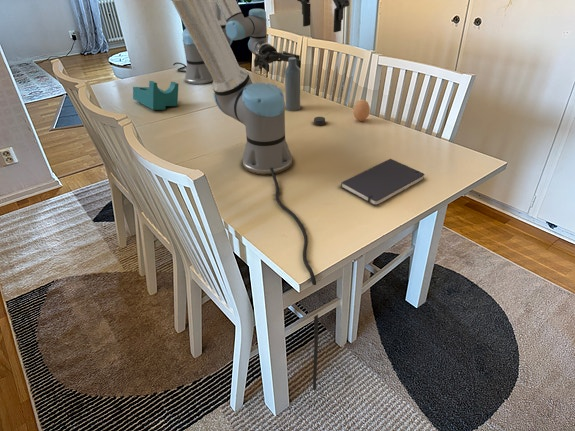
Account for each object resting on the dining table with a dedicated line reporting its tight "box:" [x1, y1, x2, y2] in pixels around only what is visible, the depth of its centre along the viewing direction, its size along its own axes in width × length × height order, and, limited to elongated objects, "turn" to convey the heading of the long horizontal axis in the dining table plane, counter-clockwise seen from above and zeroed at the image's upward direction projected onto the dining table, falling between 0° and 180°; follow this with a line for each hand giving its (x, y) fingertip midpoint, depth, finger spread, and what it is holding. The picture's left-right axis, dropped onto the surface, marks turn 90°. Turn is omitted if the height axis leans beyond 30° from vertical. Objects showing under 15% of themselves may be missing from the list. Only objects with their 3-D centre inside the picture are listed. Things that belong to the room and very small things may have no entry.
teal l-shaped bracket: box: [132, 80, 179, 111], centre depth 168 cm, size 18×11×10 cm, turn 43°
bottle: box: [284, 57, 301, 112], centre depth 158 cm, size 6×6×20 cm
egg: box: [352, 99, 371, 122], centre depth 149 cm, size 6×6×8 cm
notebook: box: [340, 158, 425, 206], centre depth 114 cm, size 13×2×21 cm
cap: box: [313, 116, 326, 127], centre depth 150 cm, size 4×4×2 cm
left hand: (284, 66), depth 162 cm, fingers open, 13 cm apart
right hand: (321, 28), depth 131 cm, fingers open, 13 cm apart
